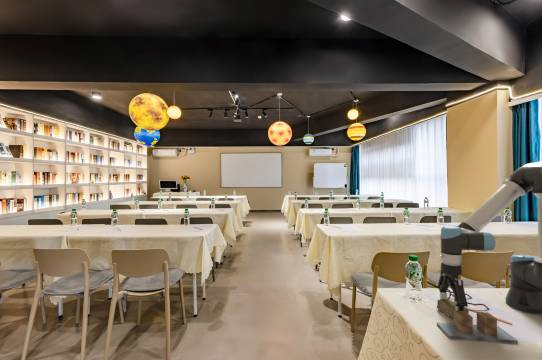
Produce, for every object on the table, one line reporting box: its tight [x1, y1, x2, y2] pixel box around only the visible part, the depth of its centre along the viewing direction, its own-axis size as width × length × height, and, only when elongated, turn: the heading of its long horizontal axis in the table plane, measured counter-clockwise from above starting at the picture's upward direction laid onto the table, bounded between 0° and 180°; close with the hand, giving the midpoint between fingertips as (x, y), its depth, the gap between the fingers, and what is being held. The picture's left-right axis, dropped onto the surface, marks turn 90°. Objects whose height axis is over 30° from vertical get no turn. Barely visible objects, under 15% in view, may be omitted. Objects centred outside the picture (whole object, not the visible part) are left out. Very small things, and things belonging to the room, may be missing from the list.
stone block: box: [436, 299, 470, 319], centre depth 120 cm, size 6×12×5 cm, turn 13°
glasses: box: [446, 288, 490, 310], centre depth 132 cm, size 13×13×5 cm
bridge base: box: [436, 311, 519, 344], centre depth 104 cm, size 22×10×7 cm, turn 83°
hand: (451, 314), depth 119 cm, fingers open, 13 cm apart
